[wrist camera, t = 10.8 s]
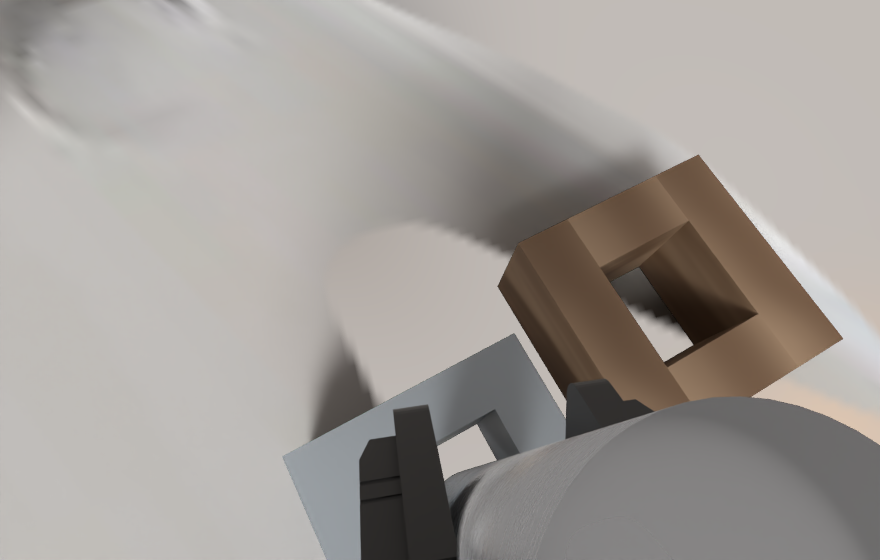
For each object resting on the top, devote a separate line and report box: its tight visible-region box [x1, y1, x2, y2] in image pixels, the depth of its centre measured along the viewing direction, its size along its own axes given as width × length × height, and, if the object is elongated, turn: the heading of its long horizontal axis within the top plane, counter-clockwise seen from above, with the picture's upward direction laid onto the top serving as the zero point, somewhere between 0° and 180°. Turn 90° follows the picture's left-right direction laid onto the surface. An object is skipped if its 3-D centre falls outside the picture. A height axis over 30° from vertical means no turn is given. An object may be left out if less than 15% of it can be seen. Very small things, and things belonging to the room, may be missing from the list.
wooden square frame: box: [498, 155, 843, 411], centre depth 23 cm, size 9×9×5 cm
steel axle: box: [444, 396, 880, 560], centre depth 11 cm, size 3×3×16 cm
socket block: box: [282, 334, 566, 560], centre depth 20 cm, size 9×9×5 cm
